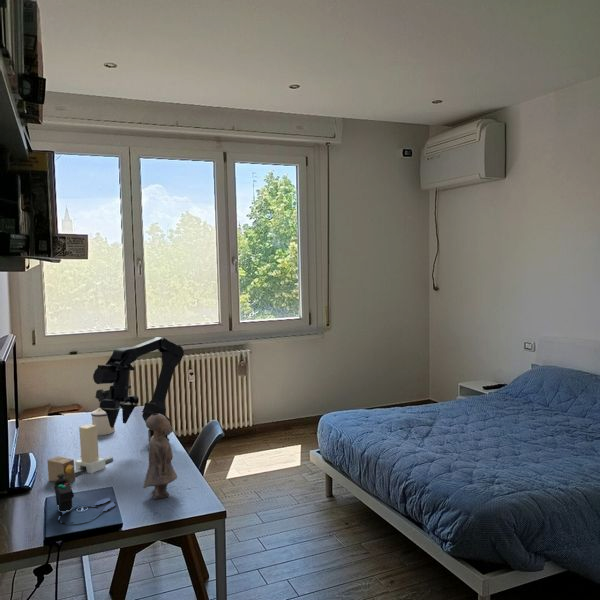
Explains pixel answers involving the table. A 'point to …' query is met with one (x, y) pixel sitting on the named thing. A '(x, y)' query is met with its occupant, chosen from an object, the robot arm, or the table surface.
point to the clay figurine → (159, 457)
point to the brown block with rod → (66, 468)
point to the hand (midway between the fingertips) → (118, 425)
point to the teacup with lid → (101, 422)
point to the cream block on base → (89, 450)
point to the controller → (63, 493)
